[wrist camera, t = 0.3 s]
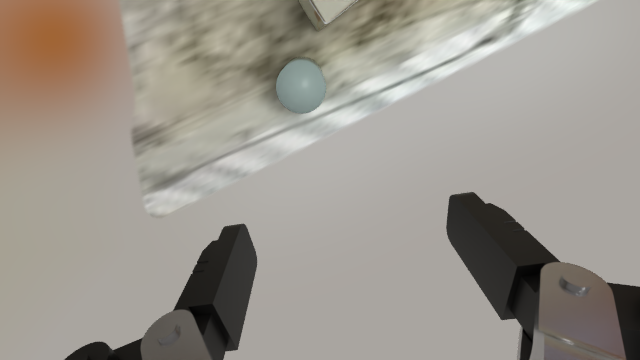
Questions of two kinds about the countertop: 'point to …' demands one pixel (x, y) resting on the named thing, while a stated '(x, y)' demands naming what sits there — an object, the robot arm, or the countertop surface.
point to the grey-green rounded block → (301, 85)
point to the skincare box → (324, 10)
